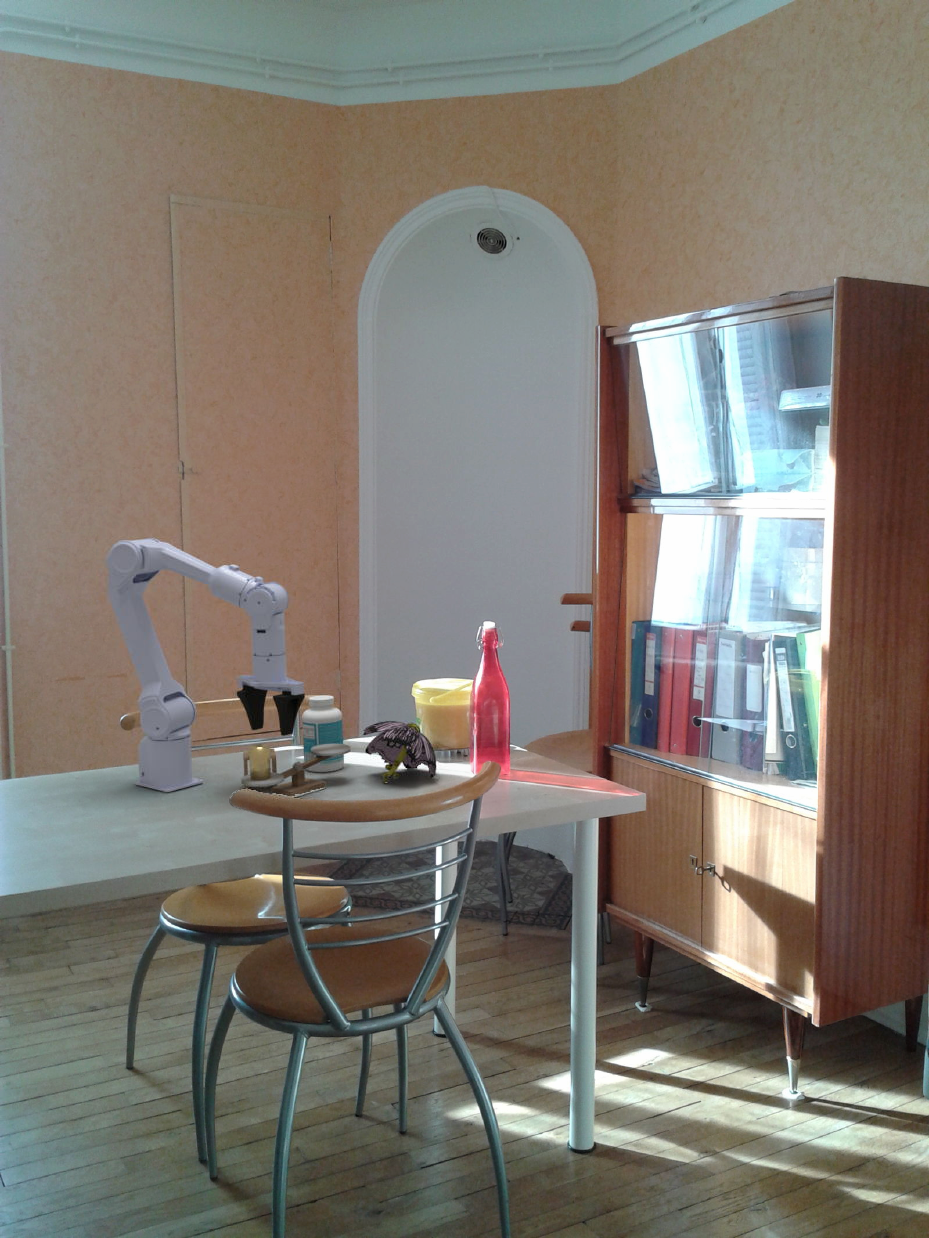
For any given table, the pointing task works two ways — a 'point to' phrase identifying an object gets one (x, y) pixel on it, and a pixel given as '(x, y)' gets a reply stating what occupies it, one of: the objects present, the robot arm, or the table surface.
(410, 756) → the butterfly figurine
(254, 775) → the cylinder
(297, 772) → the balance
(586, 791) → the table surface
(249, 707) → the robot arm
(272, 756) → the small wooden stool
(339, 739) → the pill bottle
